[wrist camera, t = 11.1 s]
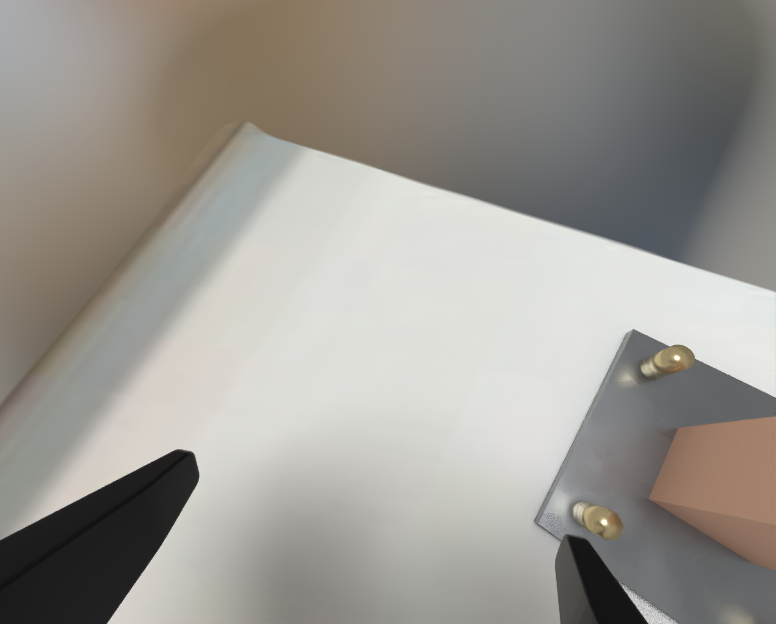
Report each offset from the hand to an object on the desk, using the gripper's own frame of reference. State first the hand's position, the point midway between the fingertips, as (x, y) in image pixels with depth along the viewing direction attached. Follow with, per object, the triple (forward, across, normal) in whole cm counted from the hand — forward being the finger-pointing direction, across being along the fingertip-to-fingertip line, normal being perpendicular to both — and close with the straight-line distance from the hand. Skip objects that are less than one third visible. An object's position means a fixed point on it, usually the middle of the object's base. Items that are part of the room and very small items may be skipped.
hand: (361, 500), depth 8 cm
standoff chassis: (+10, -15, +7) cm, 20 cm away
